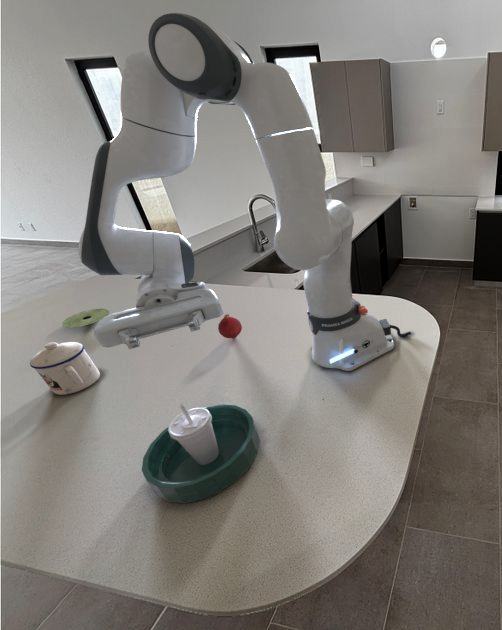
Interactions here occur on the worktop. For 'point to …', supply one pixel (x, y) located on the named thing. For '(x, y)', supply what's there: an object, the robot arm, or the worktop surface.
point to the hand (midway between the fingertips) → (164, 335)
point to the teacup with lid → (65, 367)
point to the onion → (229, 327)
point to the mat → (85, 318)
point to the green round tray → (192, 478)
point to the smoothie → (195, 434)
